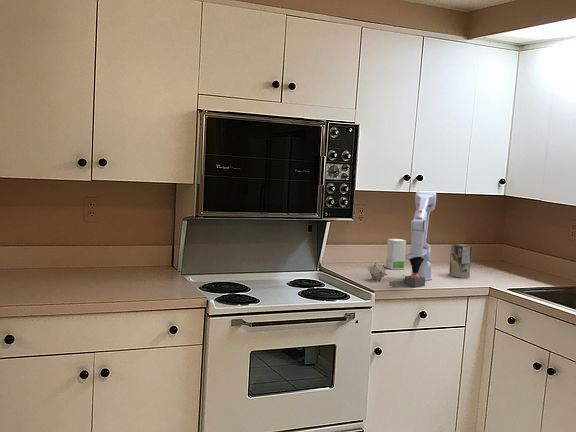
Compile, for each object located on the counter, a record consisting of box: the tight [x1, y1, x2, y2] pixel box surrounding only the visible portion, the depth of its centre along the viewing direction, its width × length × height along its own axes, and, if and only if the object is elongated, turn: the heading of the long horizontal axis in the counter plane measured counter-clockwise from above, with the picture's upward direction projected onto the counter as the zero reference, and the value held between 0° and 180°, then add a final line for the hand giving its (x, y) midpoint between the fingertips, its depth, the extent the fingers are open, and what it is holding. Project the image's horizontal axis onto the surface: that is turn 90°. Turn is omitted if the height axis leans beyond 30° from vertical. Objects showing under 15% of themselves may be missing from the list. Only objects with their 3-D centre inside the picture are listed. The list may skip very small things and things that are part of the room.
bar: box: [388, 279, 405, 287], centre depth 306 cm, size 9×1×2 cm, turn 126°
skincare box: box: [385, 238, 407, 270], centre depth 347 cm, size 8×7×16 cm
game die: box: [367, 262, 388, 282], centre depth 316 cm, size 9×8×10 cm
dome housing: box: [404, 275, 426, 288], centre depth 308 cm, size 7×7×4 cm
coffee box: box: [448, 243, 472, 279], centre depth 334 cm, size 9×6×16 cm
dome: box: [409, 273, 420, 279], centre depth 308 cm, size 5×5×5 cm
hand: (415, 272), depth 308 cm, fingers closed
